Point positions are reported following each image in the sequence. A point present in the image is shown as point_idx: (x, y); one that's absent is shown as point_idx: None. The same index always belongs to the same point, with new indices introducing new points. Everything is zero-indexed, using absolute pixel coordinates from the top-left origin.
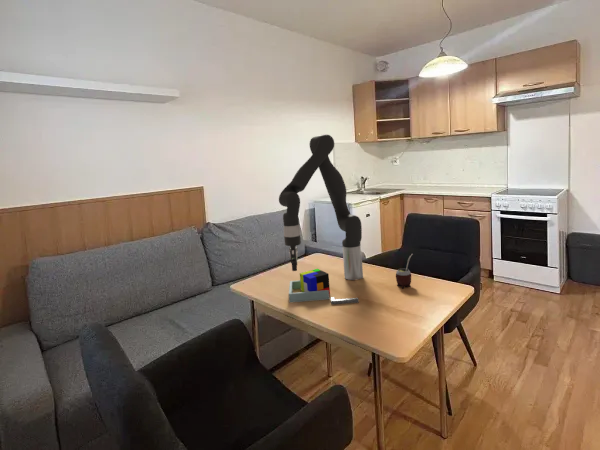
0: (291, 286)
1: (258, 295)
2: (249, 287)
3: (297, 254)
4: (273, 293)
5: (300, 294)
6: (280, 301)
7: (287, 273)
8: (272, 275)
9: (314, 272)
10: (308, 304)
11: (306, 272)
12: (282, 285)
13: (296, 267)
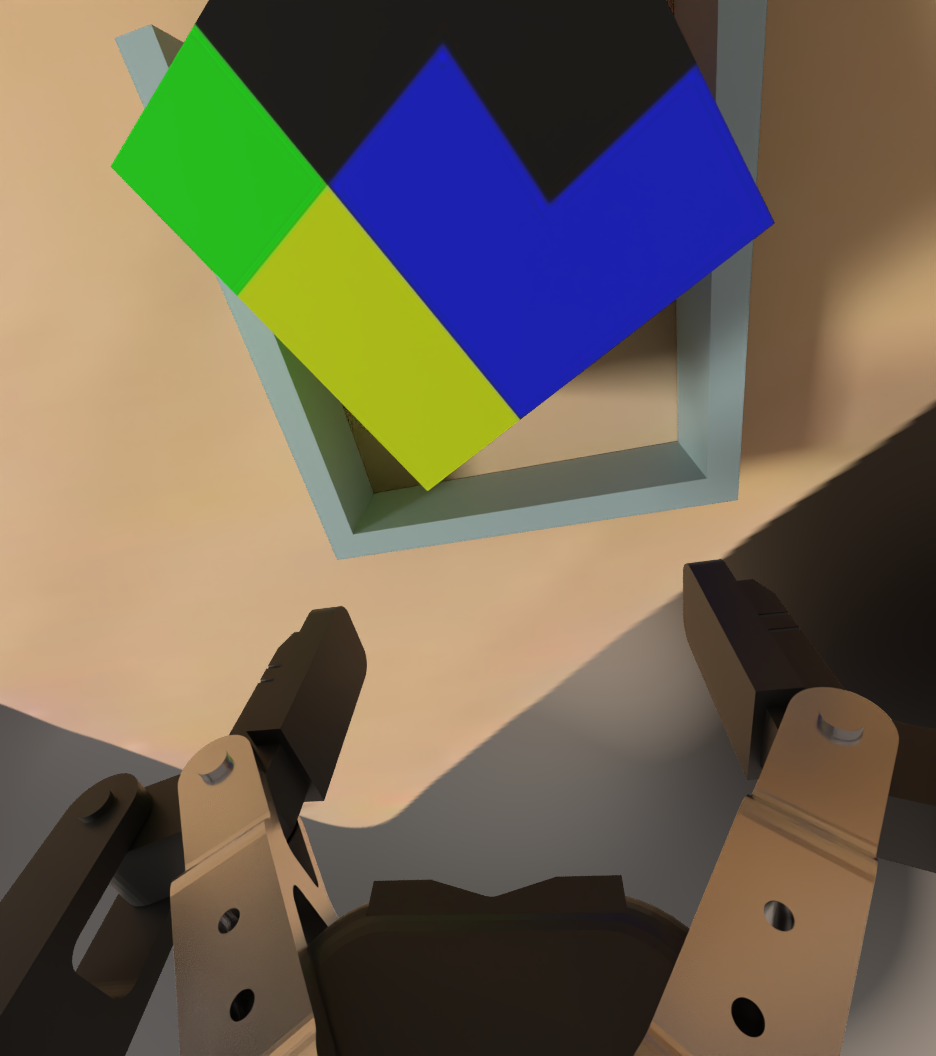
0: (498, 515)
1: (512, 702)
2: (368, 770)
3: (264, 820)
4: (475, 623)
5: (738, 364)
6: (659, 541)
7: (16, 608)
8: (108, 695)
9: (373, 192)
10: (818, 232)
11: (381, 379)
12: (294, 594)
13: (750, 604)
